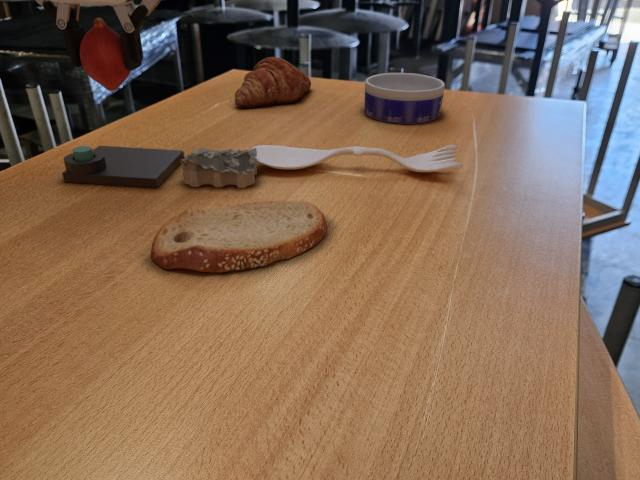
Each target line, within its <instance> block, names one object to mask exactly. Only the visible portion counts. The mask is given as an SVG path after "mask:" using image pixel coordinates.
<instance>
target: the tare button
mask: <svg viewBox="0 0 640 480" xmlns="http://www.w3.org/2000/svg"><path fill="white" fill-rule="evenodd" d="M92 151H93V148H92V147H91V146H90V145H89V146H88V145H79V146H76V147H73V148H72V153H73V154H74V158H75V161H86V160H90V159H93V158H94V157H93V152H92Z"/></svg>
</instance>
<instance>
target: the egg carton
mask: <svg viewBox="0 0 640 480" xmlns="http://www.w3.org/2000/svg"><path fill="white" fill-rule="evenodd" d="M256 156H257V150H256V148H254V149H244V150H240V149H237V150H236V151H235V150H233V148H229V149H225V150H224V149H217V150H212V149H210V148H205V147H199V148H196V149H194V150H193V151H191V152H190V153H188V154H187V155H186V157H184V159H180V165H181V168H182V174H183V175H182V176H183V182H184V185H189V186H190V187H191V188H199V187H201V186H203V185H211V186H213V187H214V188H223V187H225V186H229V185H232V186H236V187H237V188H239V189H245V188H247V187H248V186H252V185H254V184H255V183H256V179H255V176H256V175H257V174H258V167H257V166H258V165H257V162H256Z"/></svg>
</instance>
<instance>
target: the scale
mask: <svg viewBox="0 0 640 480" xmlns="http://www.w3.org/2000/svg"><path fill="white" fill-rule="evenodd" d="M92 152H93V157H94V158H93V159H90V160H86V161H75V158H74V154H73V152H71V153H69V154H67V155H65V156H64V157H63V163H64V167H65V170H64V171H63V172H62V173H61V174H62V178H63V183H74V184H88V185H89V184H90V185H102V186H103V185H104V186H117V187H118V186H120V187H132V188H133V187H135V188H149V189H150V188H151V189H158V188H159V187H160V186H161V185H162V184H163V183H164V182H165V181H166V179H167V178H168V177H170V175H171V174H172V173H173V172H174V171H175V170H176V169H178V167H179V166H180V165H181V163H180V159H185V152H184V150H180V149H163V148H146V147H145V148H144V147H130V146H129V147H128V146H127V147H126V146H110V145H98V146H96V147H95V148H93V149H92Z"/></svg>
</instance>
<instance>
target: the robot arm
mask: <svg viewBox="0 0 640 480" xmlns="http://www.w3.org/2000/svg"><path fill="white" fill-rule="evenodd" d="M34 1H35V2H36V3H37V4H38V5H39V6H41V7H42V8H43V10H44V11H45V13H46V14H47V15H49V16H50V18H52V19H53V21H55V24H56V26H57V27H58V28H59V29H60V30H62V33H63V37H64V41H65V47H66V50H67V55H68V57H69V58H70V61H71V65H72V67H73V68H80V67H83V66H82V63H81V59H80V45H81V42H82V39H83V37H84V36H85V34H86V30H85V28H84V27H83V25H80V23H79V17H80V10H81V9H80V8H81V5H95V6H112V8H113V10H114V12H115V14H116V16H117V18H118V20H119V22H120V24H121V26H122V30H123V31H122V32H120V33H119V35H120V39H121V45H122V51H123V57H124V63H125V68H126V69H127V70H131V71H134V70H136V69H138V68H140V67H141V66H142V63H143V60H144V51H143V44H142V38H141V31H140V30H141V29H142V28H143V27H144V24H145V23H146V21H147V20H148V19H149V17H151V15H152V12H153V11H154V10H155V9H156V7H158V6H159V4H160V2H162V0H141V1H140V3H139V5H138V6H136V4H135V3H134V0H34Z"/></svg>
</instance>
